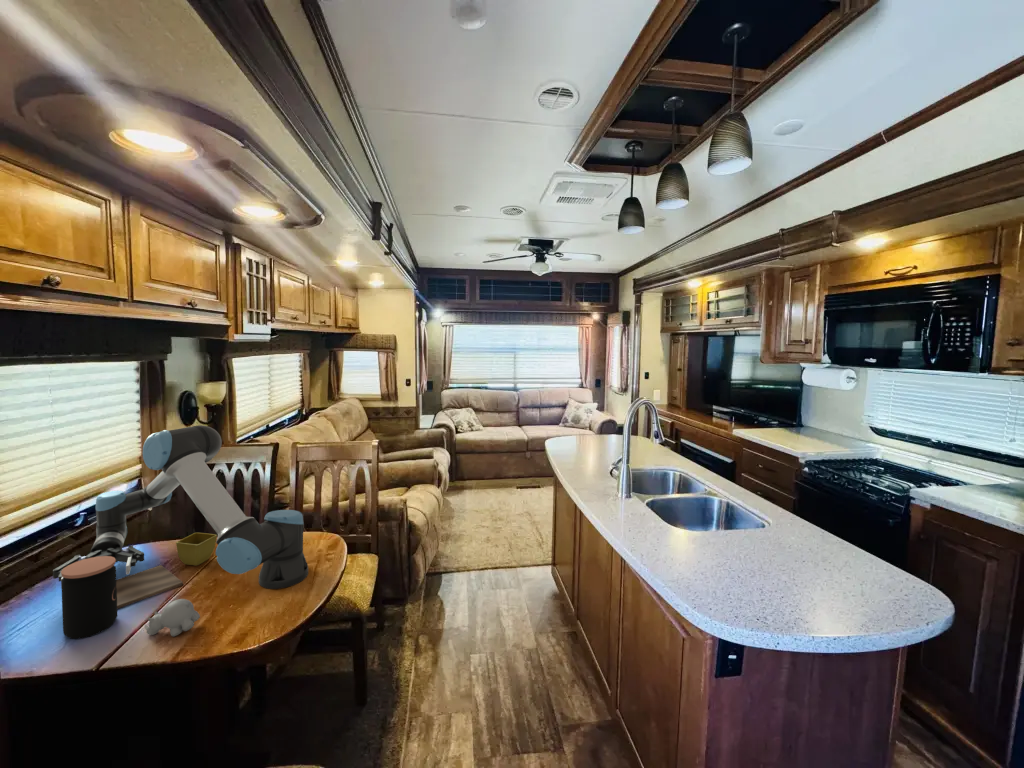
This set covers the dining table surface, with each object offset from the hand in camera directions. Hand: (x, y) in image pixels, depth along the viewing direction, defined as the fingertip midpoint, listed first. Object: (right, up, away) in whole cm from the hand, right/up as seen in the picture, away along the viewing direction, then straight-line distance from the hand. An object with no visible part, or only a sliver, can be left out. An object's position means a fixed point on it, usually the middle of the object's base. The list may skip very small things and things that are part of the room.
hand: (96, 576), depth 124 cm
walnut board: (+1, -9, +12) cm, 15 cm away
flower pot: (+7, -8, +30) cm, 32 cm away
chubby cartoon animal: (+28, -12, -7) cm, 31 cm away
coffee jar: (+5, -11, -7) cm, 14 cm away
